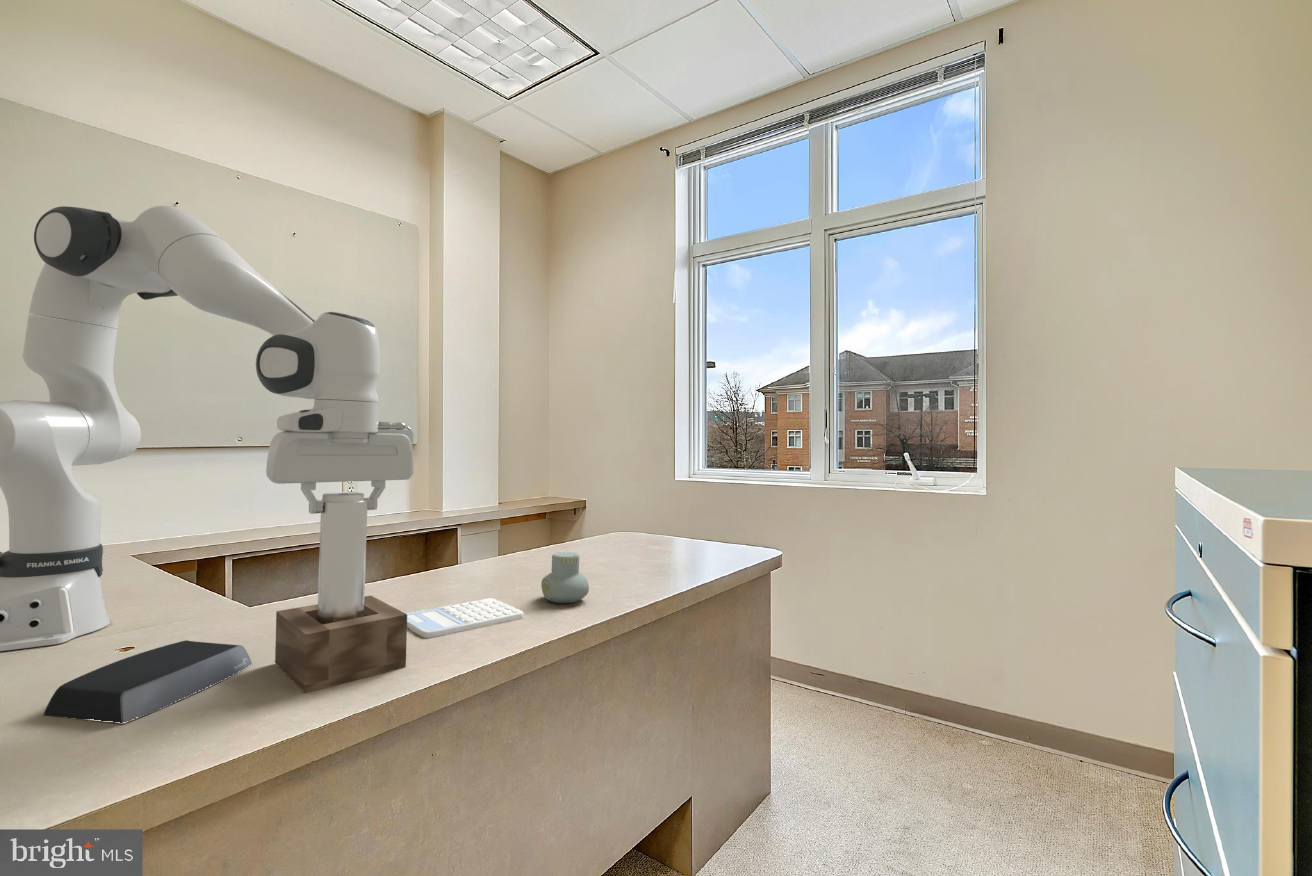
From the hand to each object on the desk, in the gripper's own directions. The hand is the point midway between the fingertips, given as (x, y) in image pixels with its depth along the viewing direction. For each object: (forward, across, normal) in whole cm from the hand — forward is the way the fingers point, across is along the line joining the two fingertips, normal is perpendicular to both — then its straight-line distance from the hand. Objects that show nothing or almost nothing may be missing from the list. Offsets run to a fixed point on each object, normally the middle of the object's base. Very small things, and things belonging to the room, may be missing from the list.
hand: (343, 511), depth 93 cm
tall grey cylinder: (+22, 0, 0) cm, 22 cm away
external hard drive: (+24, +21, -8) cm, 33 cm away
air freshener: (+24, -48, -7) cm, 54 cm away
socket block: (+24, 0, 0) cm, 24 cm away
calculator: (+24, -25, -9) cm, 36 cm away
